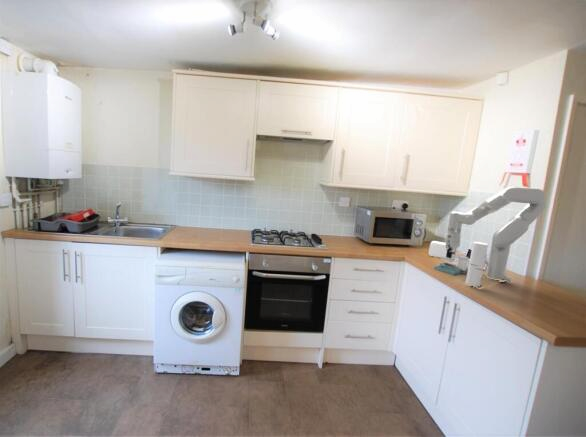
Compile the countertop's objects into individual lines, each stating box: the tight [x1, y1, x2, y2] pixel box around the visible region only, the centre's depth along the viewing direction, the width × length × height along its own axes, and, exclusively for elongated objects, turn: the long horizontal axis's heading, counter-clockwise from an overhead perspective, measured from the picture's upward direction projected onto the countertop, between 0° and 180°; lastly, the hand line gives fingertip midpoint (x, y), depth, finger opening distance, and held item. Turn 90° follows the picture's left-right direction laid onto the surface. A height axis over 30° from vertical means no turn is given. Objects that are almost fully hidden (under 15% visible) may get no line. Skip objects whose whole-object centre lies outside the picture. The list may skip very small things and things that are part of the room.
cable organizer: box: [428, 240, 447, 260], centre depth 232 cm, size 15×11×12 cm
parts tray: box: [434, 264, 461, 276], centre depth 193 cm, size 12×9×3 cm
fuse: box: [457, 255, 470, 270], centre depth 194 cm, size 4×4×10 cm
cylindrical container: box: [465, 241, 489, 287], centre depth 170 cm, size 7×7×25 cm
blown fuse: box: [444, 246, 457, 263], centre depth 200 cm, size 4×4×10 cm
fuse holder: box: [439, 262, 468, 275], centre depth 198 cm, size 16×8×3 cm, turn 34°
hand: (450, 257), depth 201 cm, fingers closed on blown fuse, 3 cm apart
